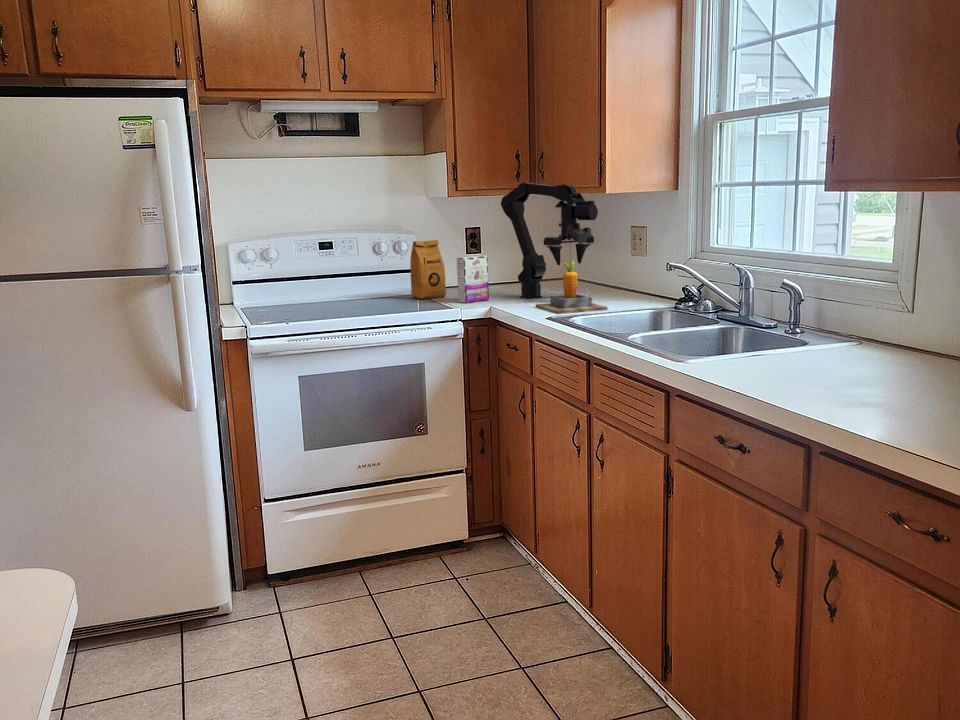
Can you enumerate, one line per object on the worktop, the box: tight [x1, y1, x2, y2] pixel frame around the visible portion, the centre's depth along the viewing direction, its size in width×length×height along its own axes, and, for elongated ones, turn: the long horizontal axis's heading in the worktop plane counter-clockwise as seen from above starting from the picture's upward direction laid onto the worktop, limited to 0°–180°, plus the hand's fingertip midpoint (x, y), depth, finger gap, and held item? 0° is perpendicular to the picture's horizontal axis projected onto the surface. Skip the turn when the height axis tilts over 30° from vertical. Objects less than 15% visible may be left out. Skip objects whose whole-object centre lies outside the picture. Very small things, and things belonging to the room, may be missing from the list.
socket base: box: [535, 293, 608, 315], centre depth 282 cm, size 18×18×4 cm
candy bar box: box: [455, 255, 490, 304], centre depth 305 cm, size 11×5×16 cm, turn 130°
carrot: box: [562, 260, 579, 299], centre depth 281 cm, size 5×5×15 cm
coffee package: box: [409, 239, 447, 300], centre depth 318 cm, size 10×12×22 cm
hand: (569, 264), depth 300 cm, fingers open, 9 cm apart
